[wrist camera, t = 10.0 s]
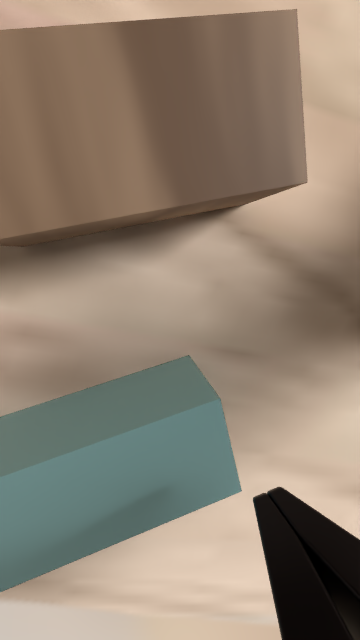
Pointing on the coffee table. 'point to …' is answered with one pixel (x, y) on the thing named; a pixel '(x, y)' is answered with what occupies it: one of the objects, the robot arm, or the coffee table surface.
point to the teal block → (109, 466)
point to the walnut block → (146, 121)
